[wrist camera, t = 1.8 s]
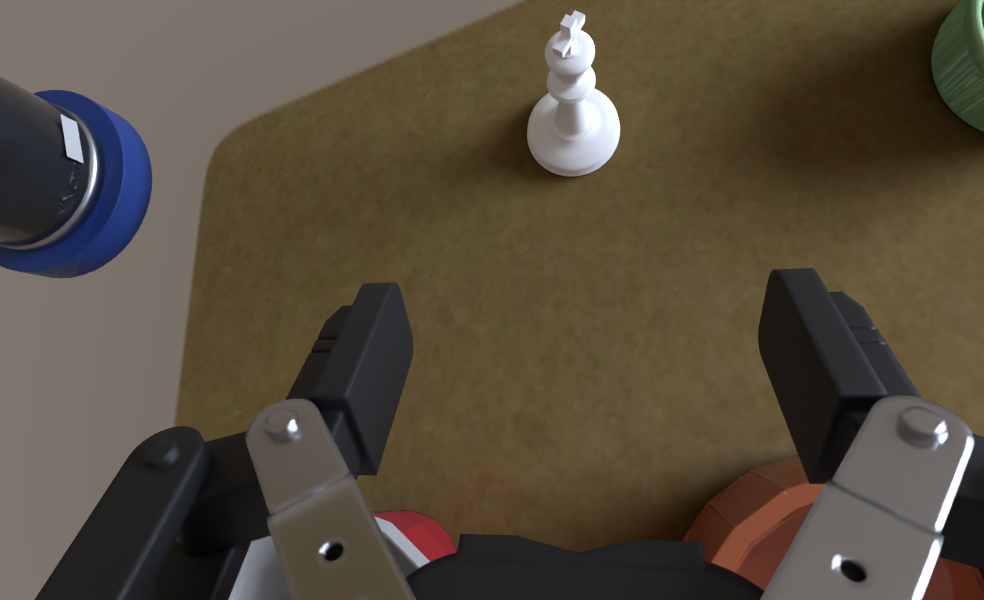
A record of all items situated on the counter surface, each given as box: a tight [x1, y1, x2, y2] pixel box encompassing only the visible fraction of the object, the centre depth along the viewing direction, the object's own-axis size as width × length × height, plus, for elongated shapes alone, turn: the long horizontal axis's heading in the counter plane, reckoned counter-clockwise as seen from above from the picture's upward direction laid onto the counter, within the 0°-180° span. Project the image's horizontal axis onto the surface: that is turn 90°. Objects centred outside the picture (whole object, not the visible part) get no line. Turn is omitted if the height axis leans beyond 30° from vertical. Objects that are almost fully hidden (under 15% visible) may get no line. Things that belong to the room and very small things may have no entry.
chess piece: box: [527, 11, 620, 176], centre depth 27 cm, size 5×5×10 cm
